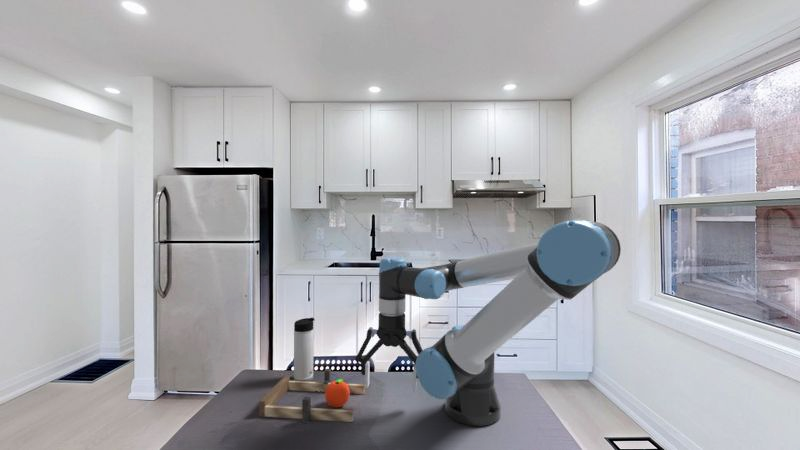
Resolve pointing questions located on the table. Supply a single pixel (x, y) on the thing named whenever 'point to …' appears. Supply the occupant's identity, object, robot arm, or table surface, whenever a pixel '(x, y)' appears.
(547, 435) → the table surface
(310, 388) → the lane
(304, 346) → the travel mug
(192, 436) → the table surface
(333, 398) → the clementine
